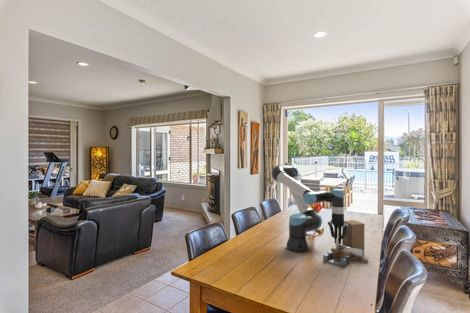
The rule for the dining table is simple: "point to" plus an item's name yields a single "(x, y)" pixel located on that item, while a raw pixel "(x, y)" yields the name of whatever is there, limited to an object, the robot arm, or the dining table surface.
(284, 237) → the dining table surface
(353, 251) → the axle
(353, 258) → the wooden clevis bracket
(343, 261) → the v block
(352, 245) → the wooden block
